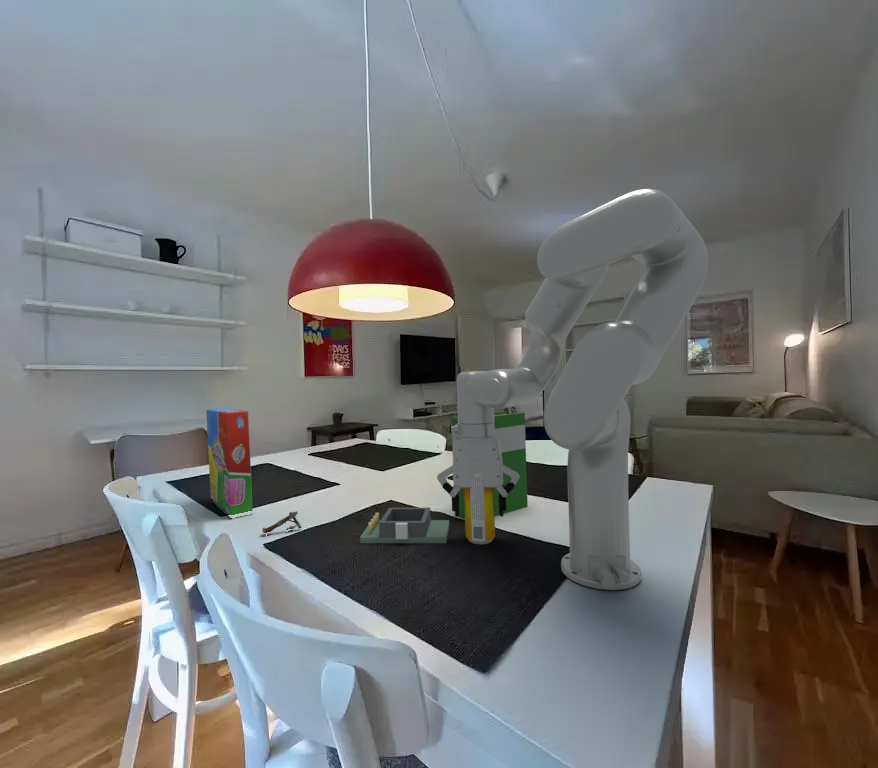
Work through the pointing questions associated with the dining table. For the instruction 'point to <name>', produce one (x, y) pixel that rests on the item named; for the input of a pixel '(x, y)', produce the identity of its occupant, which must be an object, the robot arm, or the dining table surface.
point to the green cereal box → (506, 460)
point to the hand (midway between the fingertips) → (479, 514)
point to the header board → (406, 527)
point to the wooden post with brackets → (279, 523)
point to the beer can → (479, 511)
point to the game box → (229, 459)
